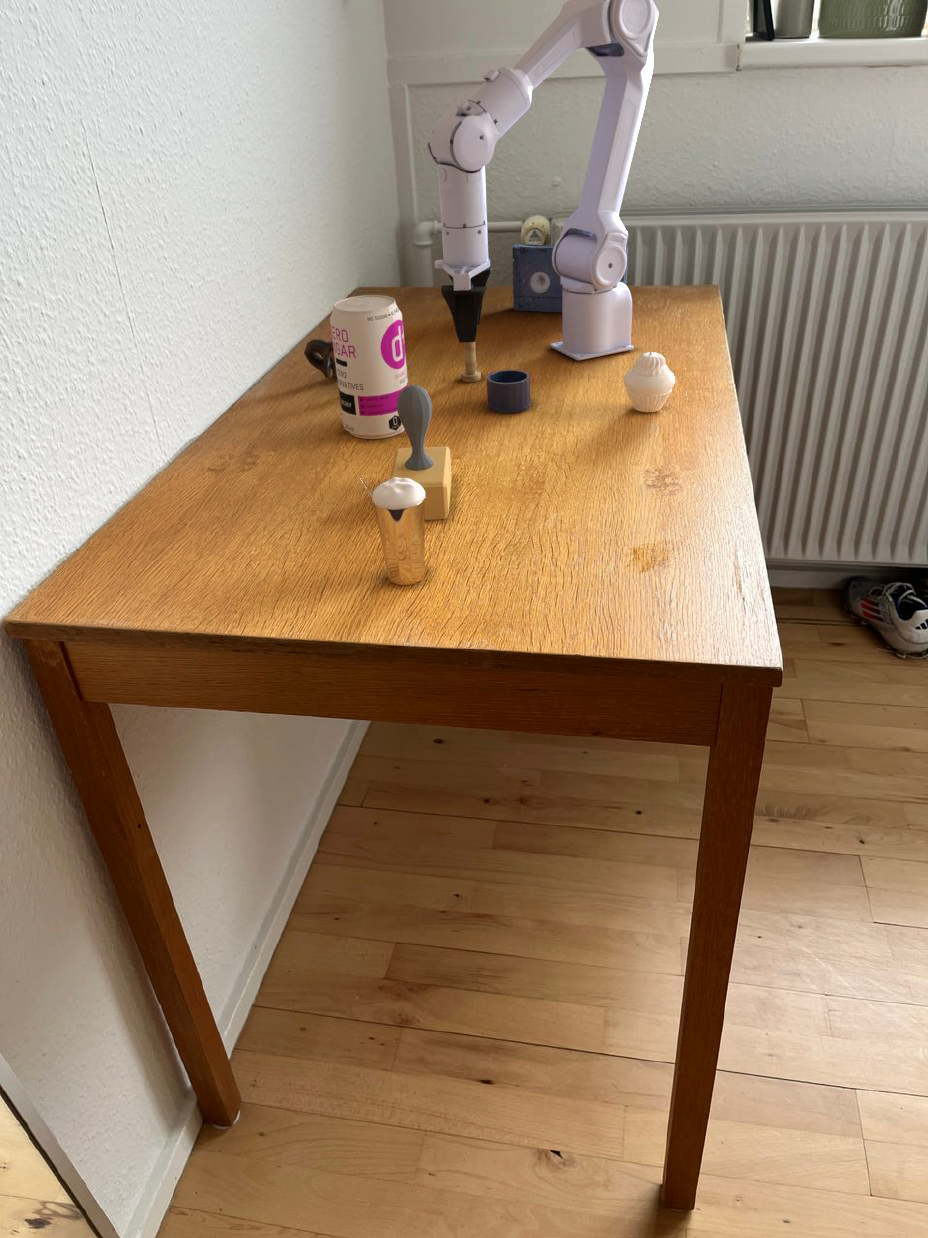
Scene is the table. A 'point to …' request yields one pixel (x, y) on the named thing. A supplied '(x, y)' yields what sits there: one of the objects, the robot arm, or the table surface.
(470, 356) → the beige capped rod
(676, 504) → the table surface
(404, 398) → the rubber stamp
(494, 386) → the cup
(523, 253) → the vhs cassette tape
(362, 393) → the supplement can
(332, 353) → the pottery mug
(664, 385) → the muffin
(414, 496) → the milkshake
